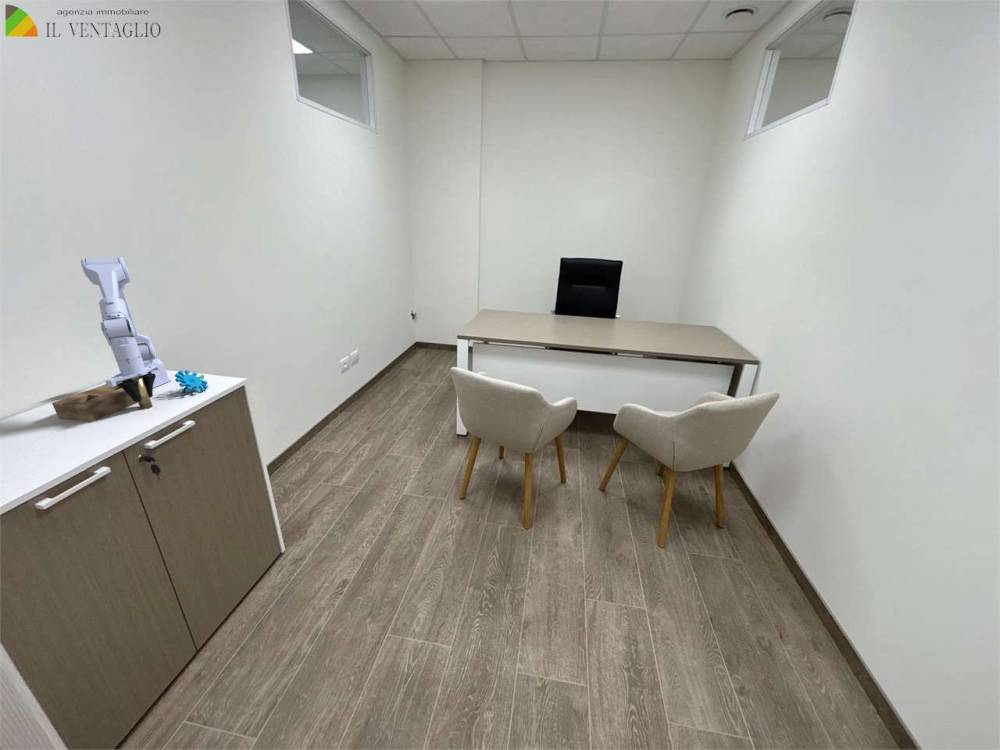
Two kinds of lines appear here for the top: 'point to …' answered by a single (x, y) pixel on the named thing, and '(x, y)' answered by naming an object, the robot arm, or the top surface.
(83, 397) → the hole block
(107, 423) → the top surface
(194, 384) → the gear
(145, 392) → the peg
